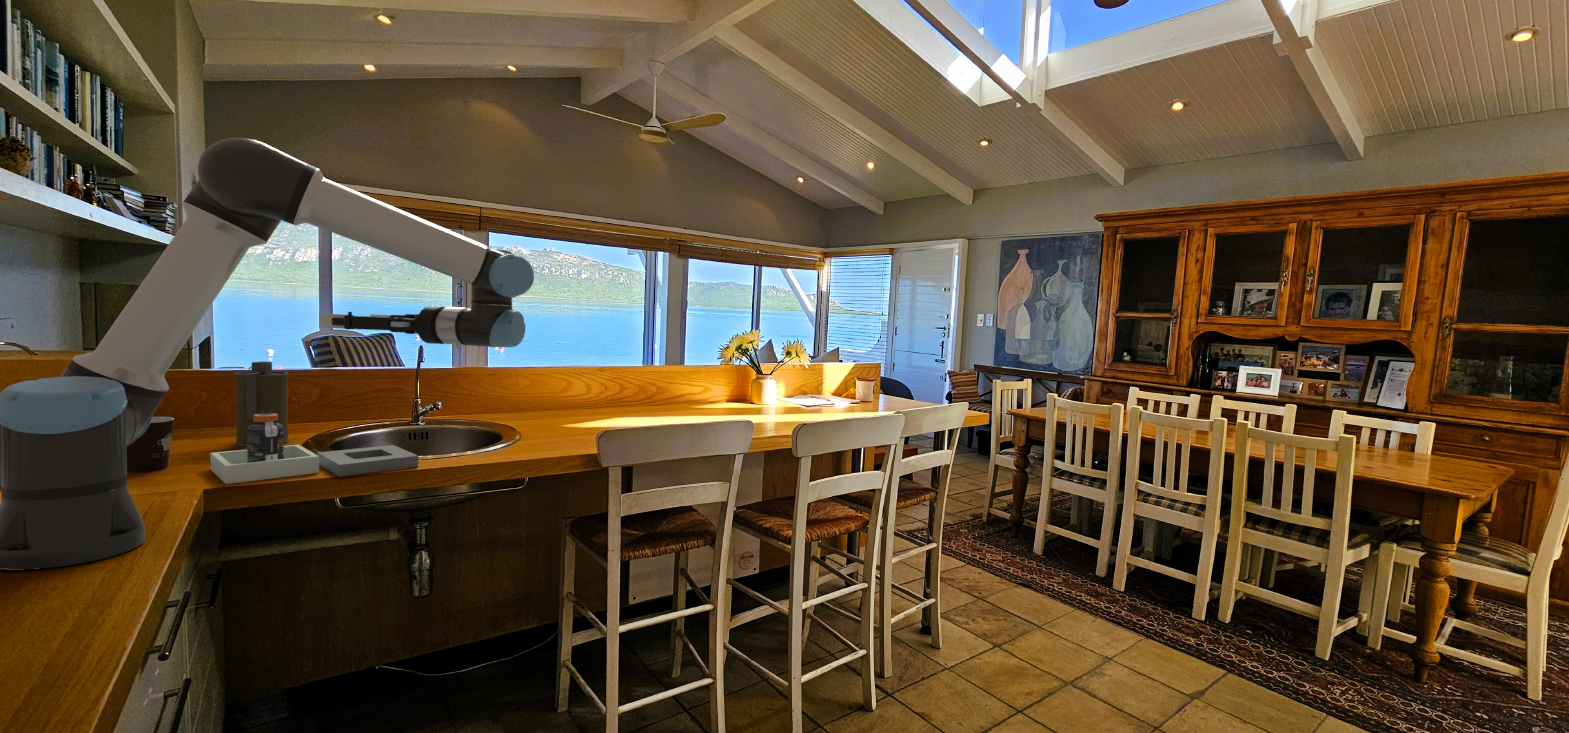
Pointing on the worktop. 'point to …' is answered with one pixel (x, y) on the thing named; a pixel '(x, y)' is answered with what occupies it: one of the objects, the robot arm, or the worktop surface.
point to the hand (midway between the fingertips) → (347, 320)
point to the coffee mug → (151, 447)
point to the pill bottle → (265, 438)
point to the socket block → (367, 460)
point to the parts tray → (263, 465)
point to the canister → (260, 398)
